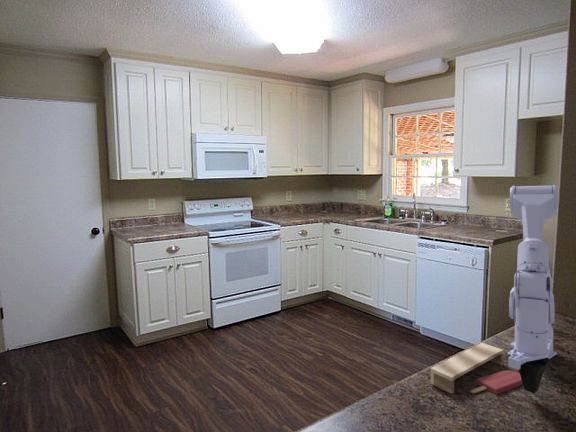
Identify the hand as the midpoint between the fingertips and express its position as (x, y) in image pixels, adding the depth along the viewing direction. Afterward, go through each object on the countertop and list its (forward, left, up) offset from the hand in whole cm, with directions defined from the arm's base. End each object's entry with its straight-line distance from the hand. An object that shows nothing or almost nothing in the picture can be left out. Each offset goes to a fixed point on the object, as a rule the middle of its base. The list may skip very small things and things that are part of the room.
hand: (530, 390), depth 86 cm
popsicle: (0, -8, -3) cm, 8 cm away
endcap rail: (0, -14, -2) cm, 14 cm away
